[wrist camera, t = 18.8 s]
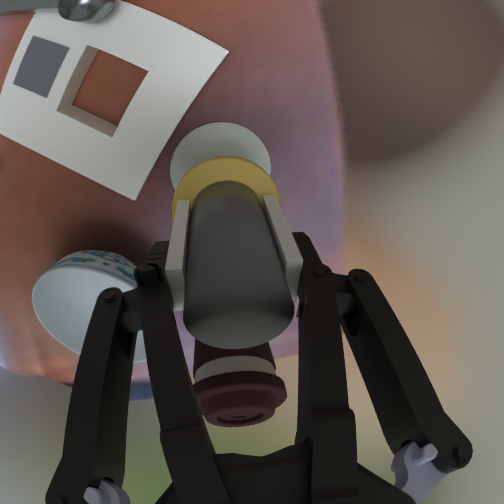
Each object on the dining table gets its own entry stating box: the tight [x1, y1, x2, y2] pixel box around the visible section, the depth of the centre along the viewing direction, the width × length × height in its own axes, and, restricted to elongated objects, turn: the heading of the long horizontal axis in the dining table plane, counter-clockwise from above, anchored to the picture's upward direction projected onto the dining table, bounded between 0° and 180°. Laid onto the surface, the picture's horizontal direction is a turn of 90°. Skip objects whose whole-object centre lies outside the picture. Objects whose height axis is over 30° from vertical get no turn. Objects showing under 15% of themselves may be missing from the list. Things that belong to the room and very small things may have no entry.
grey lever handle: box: [0, 0, 116, 24], centre depth 6 cm, size 17×3×2 cm, turn 65°
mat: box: [170, 122, 271, 190], centre depth 24 cm, size 9×9×1 cm
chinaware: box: [32, 250, 147, 363], centre depth 27 cm, size 15×15×8 cm
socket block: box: [0, 0, 229, 201], centre depth 15 cm, size 17×14×4 cm
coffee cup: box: [193, 338, 287, 427], centre depth 30 cm, size 10×10×15 cm
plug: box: [172, 156, 295, 349], centre depth 16 cm, size 7×7×13 cm
